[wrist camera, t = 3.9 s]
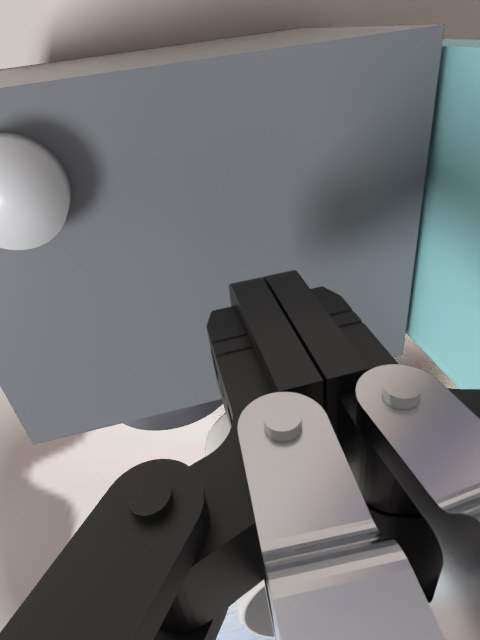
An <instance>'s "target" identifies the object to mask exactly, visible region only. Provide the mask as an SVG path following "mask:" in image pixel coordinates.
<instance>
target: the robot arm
mask: <svg viewBox="0 0 480 640" xmlns="http://www.w3.org/2000/svg"><path fill="white" fill-rule="evenodd" d="M229 294H230V301H231V307H227V308H223V309H218V310H213V311H212V312H211V314H210V317H209V320H208V323H207V326H206V327H207V333H208V338H209V343H210V348H211V354H212V359H213V364H214V370H215V375H216V380H217V383H218V387H219V390H220V394H221V397H222V401H223V404H224V408H225V410H226V415H227V418H228V421H229V425H230V428H231V429H230V432H229V434H228V435H227V437H226V439H225V440H224V441H223V443H222V444H221V445H220V446H219V447H218V448H217V449H216V450H214V451H213V452H212V453H210V454H209V455H207V456H206V457H204V458H203V459H201V460H199V461H198V462H196V463H194V464H193V465H191V466H187V465H186V464H184V463H182V462H179V461H176V460H171V459H156V460H151V461H147V462H144V463H141V464H139V465H137V466H135V467H133V468H131V469H129V470H128V471H127V472H125V473H124V474H122V475H121V476H120V477H119V478H118V479H117V480H116V481H115V482H114V483H113V485H112V486H111V487H110V488H109V490H108V491H107V492H106V493H105V495H104V496H103V497H102V499H101V500H100V501H99V503H98V504H97V505H96V507H95V508H94V509H93V511H92V512H91V513H90V515H89V516H88V517H87V519H86V520H85V521H84V523H83V524H82V525H81V527H80V528H79V529H78V531H77V532H76V533H75V535H74V536H73V537H72V539H71V540H70V541H69V542H68V544H67V545H66V546H65V548H64V549H63V551H62V552H61V553H60V554H59V556H58V557H57V558H56V560H55V561H54V562H53V564H52V565H51V566H50V568H49V569H48V570H47V572H46V573H45V574H44V576H43V577H42V578H41V580H40V581H39V582H38V584H37V585H36V586H35V588H34V589H33V590H32V592H31V593H30V594H29V595H28V597H27V598H26V600H25V601H24V603H22V605H21V606H20V607H19V609H18V610H17V611H16V613H15V614H14V615H13V617H12V618H11V619H10V621H9V622H8V623H7V625H6V626H5V627H4V629H3V630H2V631H1V633H0V640H216V637H217V635H218V633H219V630H220V628H221V625H222V623H223V621H224V618H225V616H226V613H227V610H228V607H229V606H230V605H231V604H233V603H234V602H235V601H237V600H238V599H239V598H241V597H242V596H243V595H244V594H246V593H247V592H248V591H250V590H251V589H252V588H253V587H255V586H256V585H257V584H259V583H260V582H261V581H263V580H264V584H265V589H266V595H267V600H268V605H269V610H270V615H271V620H272V626H273V631H274V636H275V640H480V389H449V388H446V387H445V386H444V385H443V384H442V383H441V382H440V381H439V380H438V379H436V378H435V377H434V376H432V375H431V374H429V373H427V372H425V371H423V370H421V369H418V368H415V367H412V366H407V365H399V364H398V363H397V362H396V360H395V359H394V358H393V357H392V356H391V354H390V353H389V352H388V351H387V350H386V349H385V347H384V346H383V345H382V344H381V343H380V341H379V340H378V339H377V338H376V337H375V335H374V334H373V333H372V332H371V331H370V330H369V328H368V327H367V326H366V325H365V324H364V323H362V320H361V319H360V318H359V316H358V315H357V314H356V313H355V312H353V311H352V308H351V307H350V306H349V305H348V303H347V302H346V301H345V300H344V299H343V298H342V296H341V295H339V294H337V293H335V292H333V291H331V290H329V289H327V288H325V287H323V286H321V287H317V288H312V289H310V288H309V287H308V285H307V284H306V283H305V281H304V280H303V279H302V277H301V276H300V274H299V273H298V272H297V271H296V270H292V271H287V272H282V273H278V274H273V275H268V276H264V277H263V278H262V277H260V278H255V279H250V280H246V281H241V282H236V283H232V284H229Z"/></svg>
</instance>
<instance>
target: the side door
mask: <svg viewBox="0 0 480 640" xmlns="http://www.w3.org/2000/svg"><path fill="white" fill-rule="evenodd" d="M406 333H407V334H408V335H409V336H410V337H411V339H412V340H413V341H414V342H415V343H416V344H417V345H418V346H419V347H420V348H421V349H422V350H423V351H424V352H425V353H426V354H427V355H428V356H429V357H430V358H431V359H432V360H433V362H434V363H435V364H436V365H437V366H438V367H439V368H440V369H441V370H442V371H443V372H444V373H445V374H446V375H447V376H448V377H449V378H450V379H451V380H452V381H453V382H454V384H455V385H456V386H457V387H458V388H459V389H480V40H475V39H443V41H442V49H441V57H440V64H439V72H438V80H437V88H436V96H435V104H434V112H433V120H432V127H431V135H430V143H429V151H428V159H427V167H426V175H425V183H424V191H423V198H422V206H421V214H420V222H419V230H418V238H417V246H416V254H415V261H414V269H413V277H412V285H411V293H410V301H409V309H408V317H407V325H406Z"/></svg>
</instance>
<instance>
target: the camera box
mask: <svg viewBox="0 0 480 640" xmlns="http://www.w3.org/2000/svg"><path fill="white" fill-rule="evenodd" d="M444 25H445V24H431V25H392V26H354V27H316V28H297V29H290V30H282V31H275V32H268V33H261V34H253V35H246V36H239V37H232V38H225V39H217V40H210V41H203V42H196V43H188V44H181V45H174V46H167V47H160V48H152V49H145V50H138V51H131V52H123V53H116V54H109V55H102V56H95V57H87V58H80V59H73V60H66V61H58V62H51V63H44V64H37V65H30V66H22V67H15V68H8V69H1V70H0V386H1V388H2V389H3V391H4V393H5V395H6V397H7V398H8V400H9V402H10V404H11V406H12V407H13V409H14V411H15V413H16V414H17V416H18V418H19V420H20V422H21V423H22V425H23V427H24V429H25V430H26V432H27V434H28V436H29V438H30V439H31V441H32V443H33V444H38V443H42V442H46V441H51V440H54V439H58V438H63V437H67V436H71V435H75V434H79V433H83V432H88V431H92V430H96V429H100V428H104V427H108V426H112V425H116V424H120V423H123V424H125V425H128V426H130V427H133V428H137V429H142V430H168V429H174V428H179V427H182V426H185V425H189V424H191V423H194V422H196V421H198V420H200V419H202V418H204V417H206V416H207V415H209V414H211V413H212V412H214V411H215V410H216V409H217V408H218V407H220V406H221V405H222V404H223V401H222V397H221V394H220V390H219V387H218V383H217V380H216V375H215V370H214V364H213V359H212V354H211V348H210V343H209V338H208V333H207V327H206V326H207V323H208V320H209V317H210V314H211V312H212V311H213V310H218V309H223V308H227V307H231V301H230V294H229V284H232V283H236V282H241V281H246V280H250V279H255V278H260V277H262V278H263V277H264V276H268V275H273V274H278V273H282V272H287V271H292V270H296V271H297V272H298V273H299V274H300V276H301V277H302V279H303V280H304V281H305V283H306V284H307V285H308V287H309V288H310V289H312V288H317V287H321V286H323V287H325V288H327V289H329V290H331V291H333V292H335V293H337V294H339V295H341V296H342V298H343V299H344V300H345V301H346V302H347V303H348V305H349V306H350V307H351V308H352V311H353V312H355V313H356V314H357V315H358V316H359V318H360V319H361V320H362V323H364V324H365V325H366V326H367V327H368V328H369V330H370V331H371V332H372V333H373V334H374V335H375V337H376V338H377V339H378V340H379V341H380V343H381V344H382V345H383V346H384V347H385V349H386V350H387V351H388V352H389V353H390V354H391V356H392V357H396V356H400V355H403V348H404V340H405V332H406V325H407V317H408V309H409V301H410V293H411V285H412V277H413V269H414V261H415V254H416V246H417V238H418V230H419V222H420V214H421V206H422V198H423V191H424V183H425V175H426V167H427V159H428V151H429V143H430V135H431V127H432V120H433V112H434V104H435V96H436V88H437V80H438V72H439V64H440V57H441V49H442V41H443V33H444Z"/></svg>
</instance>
